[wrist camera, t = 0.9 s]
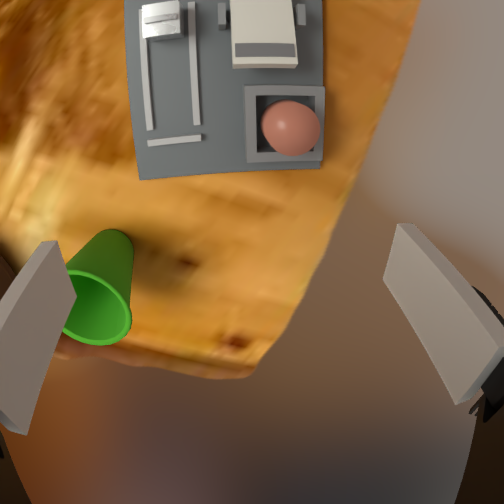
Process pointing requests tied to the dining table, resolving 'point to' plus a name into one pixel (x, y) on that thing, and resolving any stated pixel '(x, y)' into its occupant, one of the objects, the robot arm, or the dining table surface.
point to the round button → (290, 127)
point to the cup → (101, 289)
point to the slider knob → (163, 21)
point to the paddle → (263, 34)
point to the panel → (215, 93)
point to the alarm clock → (5, 277)
